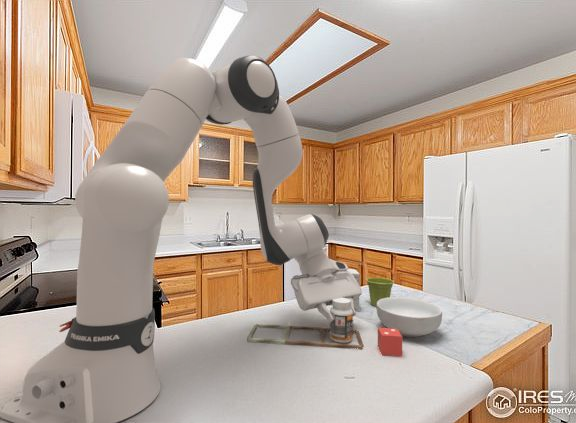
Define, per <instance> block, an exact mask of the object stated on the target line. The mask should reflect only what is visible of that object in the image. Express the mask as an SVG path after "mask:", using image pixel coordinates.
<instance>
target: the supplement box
mask: <svg viewBox="0 0 576 423" xmlns="http://www.w3.org/2000/svg"><path fill="white" fill-rule="evenodd" d="M347 271H349V272H350V273H351V274H352V275H353V276H354V278H355V279H356V281H357V282H358V284H359V286H360V285H361V284H360V283H361V282H360V279H361V276H360V275H361V273H360V272H358V270H357V269H354V268H348V270H347ZM360 287H361V286H360ZM353 305H354V307H353V308H354V310H355V311H356V312H360V296H359V297H358V298H357V299H356V300H353Z"/></svg>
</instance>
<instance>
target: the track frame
mask: <svg viewBox="0 0 576 423" xmlns="http://www.w3.org/2000/svg"><path fill="white" fill-rule="evenodd" d="M257 328H265V329H266V328H268V329H269V328H270V329H281V328H283V329H284V330H285V335H284V338H283V339H271V338H259V337H257V338H256V337H253V336H254V334H255V332H256V330H257ZM298 329H303V330H302V331H314V330H321V331H320V339H321V342H320V341H319V342H318V341H302V340H301V341H300V340H288V339H289V337H290V332H291V330H298ZM325 332H330V327H320V326H319V327H317V326H304V325H303V326H299V325H286V324H270V323H269V324H268V323H267V324H266V323H255V324H254V325H253V327H251V329H250V332H249V334H248V335H247V338H246V340H247V342H249V343H250V342H251V343H265V344H277V345H279V344H280V345H293V346H294V345H295V346H306V347H307V346H309V347H321V348H323V347H325V348H337V349H350V348H356V349H355V350H363V348H362V347H364V346H365V345H364V343H363V340H362V338H361V334H360V331H359V330H357V329H353V332H356V333H355V336H356V335H357V336H356V339H357V338H358V339H357V342H358V344H347V343H337V342H335V343H334V342H333V343H332V342H325V340H326V339H325ZM357 348H358V349H357Z"/></svg>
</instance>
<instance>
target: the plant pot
mask: <svg viewBox="0 0 576 423" xmlns="http://www.w3.org/2000/svg"><path fill="white" fill-rule="evenodd" d="M365 280H366V282H367V286H368V292H369V299H370V300H369V301H370V304H371V305H372V306H373V307H376V308H377V302H378V301H379V300H380V299H383V298H389V297H391V294H392V288H393V286H394V283H395V281H394V280H392V279H390V278H384V277H368V278H366V279H365Z"/></svg>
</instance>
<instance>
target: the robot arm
mask: <svg viewBox="0 0 576 423" xmlns="http://www.w3.org/2000/svg"><path fill="white" fill-rule="evenodd" d="M241 120H243V121H244V122H245V123H246V124H247V125H248V126H249V127H250V129H251V132H252V135H253V140H254V142H255V146H256V150H257V154H258V159H257V160H258V161H257V167H256V168H255V169H254V170H253V172H252V189H253V195H254V202H255V209H256V215H257V221H258V227H259V236H260V237H259V238H260V239H259V241H260V242H259V243H260V244H259V245H260V251H261V254H262V255H263V258H264V259H265V261H266V262H267V263H269V264H272V265H275V266H283V265H284V264H286V263H287V262H290V261H291V260H294V259H295V261H296V262H297V264H298V266H299V271H300V272H301V274H300V275H298V274H297V275H294V276H293V277H292V278H291V279H290V284H291V287H292V289H293V291H294V296H295V299H296V302H297V305H298V307H299V308H300V309H301V310H302V311H305V312H306V311H309V310H314V309H317V311H318V312H319V313H320V314H321V315H322V316H323V317H324V318H325V319H326V321H327V323H329V324H330V323H331V322H334V321H335V320H336V317H335V316H334V313H331V312H330V310H329V309H328V308H327V306H333V304H332V300H333V299H337V298H347V299H349V300H351V306H350V308H351V309H352V311H353V317H355V316H356V315H357V311H355V310H354V308H353V307H354V305H353V300H356V299H357V298H358V297H359V298H360V296H361V295H362V292H363V290H362V287H361V286H359V284H358V282H357V281H356V279H355V278H354V276H353V275H352V274H351V273H350V272H349V271H347V270H348V269H349V267H348V265H347V263H345V262H341V261H337V260H333V259H332V258H330V257H329V256H328V255H327V254H326V253H325V252H324V248H325V247H326V245H327V242H328V239H329V236H330V235H329V231H328V228H327V227H326V225H325V222H324V221H323V219H322V218H321V217H319V216H318V215H315V214H314V213H313V214H312V213H310V214H306V215H303V216H300V217H298V218H295V219H293V220H290V221H288V222H286V223H283V224H280V225H276V224H275V217H274V216H275V215H274V210H273V200H272V199H273V195H274V193H275V191H276V189H277V188H278V187H279V185H281V184H283V182H285V180H286V179H288V178H289V177H290V176H291V175H292V174H294V173H295V171H296V170H297V169H298V167H299V166H300V164H301V162H302V160H303V155H304V151H303V150H304V149H303V144H302V140H301V136H300V134H299V129H298V126H297V124H296V120H295V118H294V116H293V112H292V110H291V108H290V106H289V105H288V102H287V100H286V99H285V98H284V96H282V95H281V94H280V90H279V85H278V80H277V78H276V74H275V72H274V71H273V69H272V67H271V66H270V65H269V64H268V62H267V61H266V60H265V59H263V58H262V57H260V56H258V55H255V54H254V55H253V54H251V55H245V56H241V57H239V58H235V59H234V60H233V61H232V62H231V63H229V64H227V65H225V66H224V67H221V68H220V69H218V70H217V71H215V72H212V71H211V70H210V69H209V68H208V67H207V66H206V65H205V64H203V63H202V62H200V61H199V60H197V59H195V58H191V57H179V58H177V59H175V60H174V61H173V62H172V63H170V64H169V65H168V66H167V67H166V68H165V69H164V70H162V72H161V73H160V74H159V75H158V76H157V77H156V78H155V80H154V81H153V82H152V84H151V85H149V87H148V89H147V90H146V91H145V93H144V95H143V96H142V97H141V99H140V101H139V102H138V103H137V104H136V106H135V108H134V110H132V112H131V114H130V115H129V116H128V118H127V119H126V121H125V123H123V125H122V126H121V128H120V129H119V131H118V132H117V133H116V134H115V136H114V138H112V140H111V141H110V143H109V144H108V145H107V146H106V147H105V150H104V151H103V152H102V154H100V156H99V158H98V160H96V162H95V163H94V165H93V166H92V167H91V169H90V170H89V171H88V173H87V174H86V175H85V177H84V179H83V180H82V181H81V183H80V184H79V186H78V188H77V189H76V193H75V198H74V199H75V201H74V202H75V207H76V210H77V213H78V214H79V216H80V217H81V218H82V223H81V224H82V225H81V237H80V239H81V240H80V248H79V250H80V251H79V258H78V266H77V274H76V310H75V312H76V315H75V317H73V318H72V319H71V320H70V321H67V322H65V323H62V324H60V325H59V327H63V328H60V330H59V331H58V332H59V333H62V332H65V331H66V330H68V331H67V334H66V337H65V339H64V341H63V342H61V343H60V344H59V345H58V346H56V347H55V348H53V349H52V350H51V351H50V352H47V353H46V355H44V356H43V357H41V358H40V359H39V360H37V361H36V362H35V363H34V364H33V365H32V366H31V367H30V368H29V369H28V371H27V373H26V375H25V376H24V381H23V386H22V390H21V391H20V392H18V393H17V394H16V395H14V397H12V398H11V399H10V400H9V401H8V402H7V403H6V404H5V405H4V406H3V407H2V409H1V411H0V418H1V419H2V420H5V421H8V422H11V423H118V422H121V421H124V420H126V419H128V418H130V417H133V416H135V415H136V414H138V413H139V412H141V411H143V410H144V409H146V408H147V407H148V406H149V405H151V404H152V403H153V402H154V400H156V399H157V397H158V395H159V393H160V392H161V389H162V387H161V381H160V379H159V378H160V377H159V375H158V371H157V366H156V361H155V360H156V359H155V353H154V340H155V330H156V319H155V318H156V314H155V313H156V312H155V311H156V310H155V308H154V307H153V295H154V294H153V291H154V289H153V288H154V266H155V259H156V258H155V257H156V253H157V248H158V244H159V240H160V234H161V229H162V222H163V219H164V216H165V215H166V213H167V211H168V208H169V202H170V200H169V199H170V195H169V192H168V188H167V186H166V184H165V183H164V182H165V181H166V179H167V178H168V177H170V174H171V173H172V172H173V171H174V170H175V169H176V168H177V167H178V166H179V165H180V164H181V163H182V161H183V160H184V158H185V156H186V154H187V153H188V151H189V150H190V148H191V146H192V144H193V142H194V141H195V140H196V137H197V135H198V133H199V132H200V130H201V128H202V127H203V124H204V123H205V121H208V122H210V123H212V124H215V125H220V126H221V125H229V124H231V123H234V122H237V121H241Z"/></svg>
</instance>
